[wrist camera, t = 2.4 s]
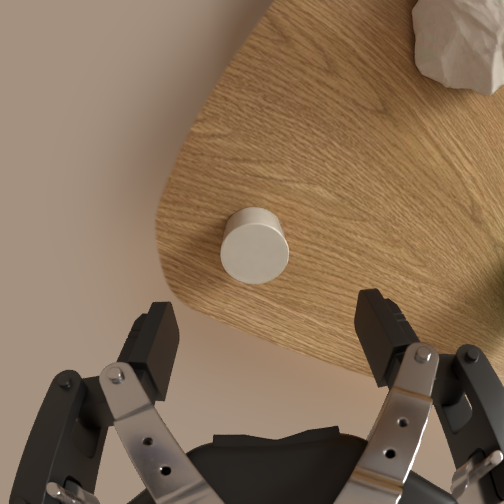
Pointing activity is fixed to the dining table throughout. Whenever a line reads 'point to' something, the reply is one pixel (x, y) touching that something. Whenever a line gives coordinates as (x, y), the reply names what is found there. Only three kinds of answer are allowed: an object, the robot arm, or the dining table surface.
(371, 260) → the dining table surface
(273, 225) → the white cylinder
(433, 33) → the decorative stone
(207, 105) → the dining table surface
